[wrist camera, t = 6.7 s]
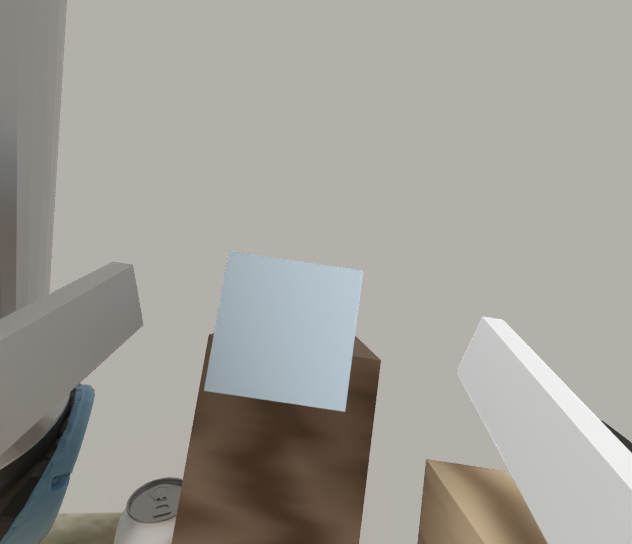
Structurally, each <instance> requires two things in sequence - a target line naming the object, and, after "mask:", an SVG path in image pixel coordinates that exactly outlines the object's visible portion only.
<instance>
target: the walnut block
mask: <svg viewBox="0 0 632 544" xmlns="http://www.w3.org/2000/svg"><path fill="white" fill-rule="evenodd" d="M213 337H214V333H213V334H210V335H209V337H208V343H207V348H206V354H205V359H204V365H203V371H202V377H201V382H200V387H199V393H198V399H197V404H196V410H195V415H194V421H193V426H192V432H191V438H190V443H189V449H188V455H187V460H186V466H185V471H184V477H183V482H182V488H181V493H180V499H179V505H178V510H177V516H176V521H175V527H174V532H173V538H172V544H359V537H360V529H361V521H362V513H363V504H364V495H365V488H366V479H367V470H368V462H369V454H370V446H371V437H372V429H373V421H374V413H375V405H376V396H377V388H378V380H379V370H380V363H381V360H380V359H379V358H378V357H377V356H376V355H375V354H374V353H373V352H372V351H370V349H368V348H367V347H366V346H365V345H364V344H363V343H362V342H361V341H360V340H359V339H358V338H357V337H356V336H355V340H354V347H353V355H352V363H351V371H350V378H349V386H348V394H347V401H346V409H345V412H344V411H337V410H330V409H324V408H317V407H310V406H303V405H297V404H290V403H283V402H276V401H270V400H263V399H256V398H250V397H243V396H236V395H229V394H223V393H216V392H209V391H204V387H205V382H206V376H207V370H208V365H209V359H210V353H211V348H212V342H213Z"/></svg>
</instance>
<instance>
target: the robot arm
mask: <svg viewBox="0 0 632 544" xmlns="http://www.w3.org/2000/svg"><path fill="white" fill-rule="evenodd" d="M66 4H67V0H0V544H39V543H40V542H41V541H42V540H43V539H44V537H45V536H46V535H47V534H48V532H49V531H50V529H51V527H52V525H53V523H54V521H55V519H56V517H57V514H58V512H59V509H60V507H61V504H62V501H63V498H64V495H65V492H66V489H67V486H68V483H69V479H70V477H69V476H70V474H71V473H72V471H73V468H74V465H75V462H76V460H77V457H78V454H79V451H80V448H81V444H82V441H83V438H84V434H85V431H86V428H87V424H88V421H89V417H90V413H91V409H92V405H93V401H94V396H95V393H94V389H93V388H92V387H91V386H90V385H82V384H80V382H81V381H83V380H84V379H85V378H86V377H87V376H88V375H89V374H90V373H91V372H92V371H93V370H95V369H96V368H97V367H98V366H99V365H100V364H101V363H102V362H103V361H104V360H106V358H108V357H109V356H110V355H111V354H112V353H113V352H114V351H115V350H116V349H118V348H119V346H121V345H122V344H123V343H124V342H125V341H126V340H127V339H128V338H129V337H131V336H132V335H133V334H134V333H135V332H136V331H137V330H138V329H139V328H140V327H142V326H143V321H142V314H141V309H140V303H139V297H138V292H137V286H136V280H135V275H134V269H133V265H130V264H124V263H117V262H111V263H110V264H108V265H106V266H104V267H102V268H100V269H98V270H96V271H94V272H92V273H90V274H88V275H86V276H84V277H82V278H80V279H78V280H76V281H74V282H72V283H70V284H68V285H66V286H65V287H62V288H60V289H58V290H56V291H54V292H53V293H51V294H49V289H50V272H51V257H52V240H53V223H54V207H55V189H56V173H57V157H58V140H59V123H60V107H61V90H62V72H63V55H64V39H65V23H66V6H67V5H66ZM456 372H457V374H458V376H459V378H460V380H461V382H462V384H463V386H464V387H465V389H466V391H467V393H468V395H469V397H470V399H471V400H472V402H473V404H474V406H475V408H476V410H477V412H478V413H479V416H480V417H481V419H482V421H483V423H484V425H485V427H486V429H487V431H488V432H489V434H490V436H491V438H492V440H493V442H494V444H495V445H496V448H497V449H498V451H499V453H500V455H501V457H502V459H503V461H504V463H505V464H506V466H507V468H508V470H509V472H510V474H511V476H512V477H513V479H514V481H515V483H516V485H517V487H518V489H519V491H520V493H521V494H522V496H523V498H524V500H525V502H526V504H527V506H528V508H529V509H530V511H531V513H532V515H533V517H534V519H535V521H536V523H537V524H538V526H539V528H540V530H541V532H542V534H543V536H544V538H545V540H546V541H547V543H548V544H632V443H631V442H630V441H629V440H627V439H626V438H625V437H623V436H622V435H621V434H619V433H618V432H617V431H615V430H614V429H613V428H611V427H610V426H609V425H607V424H606V423H605V422H603V421H600V420H599V419H598V418H597V417H596V416H595V415H594V414H593V412H592V411H591V410H589V408H588V407H587V406H586V405H585V404H584V403H583V402H582V401H581V400H580V399H579V398H578V397H577V396H576V395H575V394H574V393H573V392H572V391H571V390H570V389H569V388H568V387H567V386H566V384H565V383H564V382H563V381H562V380H561V379H560V378H559V377H558V376H557V375H556V374H555V373H554V372H553V371H552V370H551V369H550V368H549V367H548V366H547V365H546V364H545V363H544V362H543V361H542V360H541V359H540V358H539V357H538V356H537V355H536V353H534V351H533V350H532V349H531V348H530V347H529V346H528V345H527V344H526V343H525V342H524V341H523V340H522V339H521V338H520V337H519V336H518V335H517V334H516V333H515V332H514V331H513V330H512V329H511V328H510V327H509V326H508V324H507V323H506V322H505V321H504V320H501V319H495V318H488V317H482V318H481V321H480V323H479V325H478V327H477V329H476V331H475V333H474V335H473V337H472V339H471V342H470V344H469V346H468V348H467V350H466V352H465V354H464V357H463V359H462V361H461V363H460V365H459V367H458V369H457V371H456Z"/></svg>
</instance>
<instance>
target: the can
mask: <svg viewBox="0 0 632 544" xmlns="http://www.w3.org/2000/svg"><path fill="white" fill-rule="evenodd" d="M182 482H183V480H182V479H179V478H162V479H157V480H154V481H151V482H148V483H146V484H145V485H143V486H141V487H140V488H138V489H137V490H136V491H135V492H134V493H133V494H132V495H131V496H130V498H129V500H128V502H127V506H126V509H125V510H124V512H123V513H122V515H121V517H120V519H119V522H118V526H117V530H116V534H115V539H114V544H172V538H173V532H174V527H175V521H176V516H177V510H178V505H179V499H180V493H181V488H182Z"/></svg>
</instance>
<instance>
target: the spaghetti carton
mask: <svg viewBox="0 0 632 544" xmlns="http://www.w3.org/2000/svg"><path fill="white" fill-rule="evenodd" d="M362 278H363V271H361V270H354V269H348V268H341V267H334V266H327V265H320V264H313V263H306V262H299V261H293V260H286V259H279V258H272V257H266V256H259V255H252V254H245V253H238V252H231V251H229V252H228V258H227V263H226V269H225V275H224V280H223V286H222V292H221V298H220V304H219V309H218V314H217V320H216V325H215V331H214V337H213V342H212V348H211V353H210V359H209V365H208V370H207V376H206V382H205V387H204V391H209V392H216V393H223V394H229V395H236V396H243V397H250V398H256V399H263V400H270V401H276V402H283V403H290V404H297V405H303V406H310V407H317V408H324V409H330V410H337V411H344V412H345V409H346V401H347V394H348V386H349V378H350V371H351V363H352V355H353V347H354V340H355V331H356V324H357V316H358V309H359V301H360V293H361V286H362Z"/></svg>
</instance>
